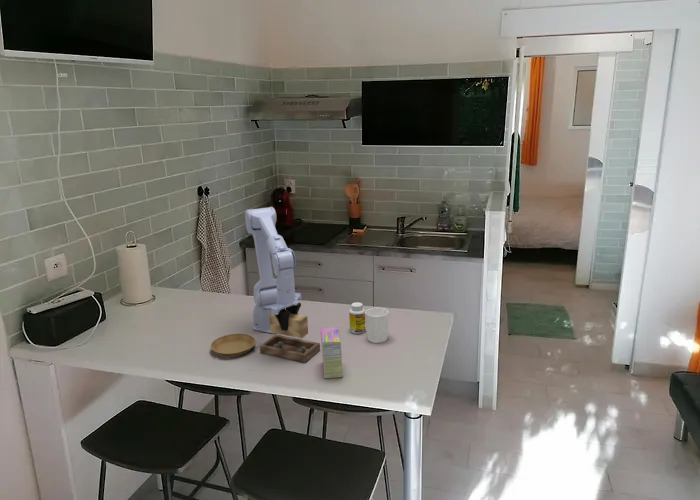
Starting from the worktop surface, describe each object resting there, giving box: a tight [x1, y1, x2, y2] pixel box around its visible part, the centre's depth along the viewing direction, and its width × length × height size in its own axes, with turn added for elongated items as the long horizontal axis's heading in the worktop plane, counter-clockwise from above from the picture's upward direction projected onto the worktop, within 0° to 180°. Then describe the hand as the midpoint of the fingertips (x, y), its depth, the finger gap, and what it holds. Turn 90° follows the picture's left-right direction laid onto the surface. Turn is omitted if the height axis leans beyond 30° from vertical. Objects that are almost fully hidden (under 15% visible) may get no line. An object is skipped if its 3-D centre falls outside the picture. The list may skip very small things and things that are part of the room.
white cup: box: [365, 307, 390, 344], centre depth 183 cm, size 8×8×10 cm
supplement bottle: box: [348, 302, 366, 335], centre depth 189 cm, size 6×6×10 cm
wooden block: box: [269, 313, 309, 339], centre depth 174 cm, size 12×4×6 cm, turn 63°
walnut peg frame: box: [259, 334, 321, 364], centre depth 177 cm, size 17×9×3 cm, turn 63°
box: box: [320, 326, 343, 379], centre depth 163 cm, size 10×6×12 cm, turn 5°
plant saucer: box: [210, 333, 257, 358], centre depth 180 cm, size 15×15×3 cm
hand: (288, 327), depth 175 cm, fingers closed on wooden block, 4 cm apart
